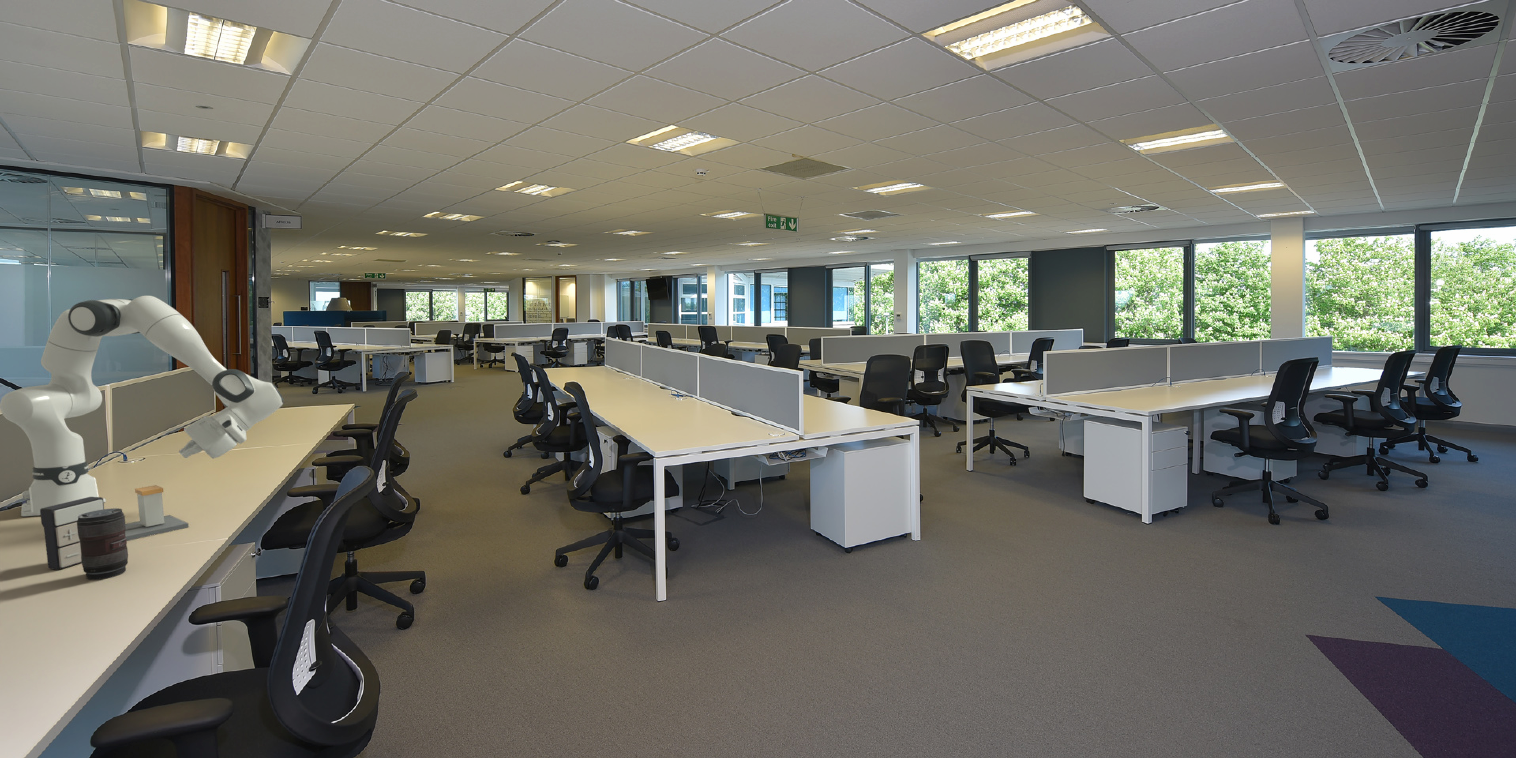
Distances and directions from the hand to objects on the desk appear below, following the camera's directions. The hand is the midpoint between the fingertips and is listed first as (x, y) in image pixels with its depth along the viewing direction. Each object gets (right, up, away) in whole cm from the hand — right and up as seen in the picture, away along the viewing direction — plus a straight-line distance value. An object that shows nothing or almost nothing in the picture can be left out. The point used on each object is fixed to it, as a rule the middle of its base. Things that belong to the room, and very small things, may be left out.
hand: (181, 455), depth 200 cm
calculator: (+1, -23, -31) cm, 39 cm away
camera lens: (+15, -24, -39) cm, 48 cm away
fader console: (-7, -21, -11) cm, 24 cm away
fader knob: (-3, -19, -6) cm, 20 cm away
